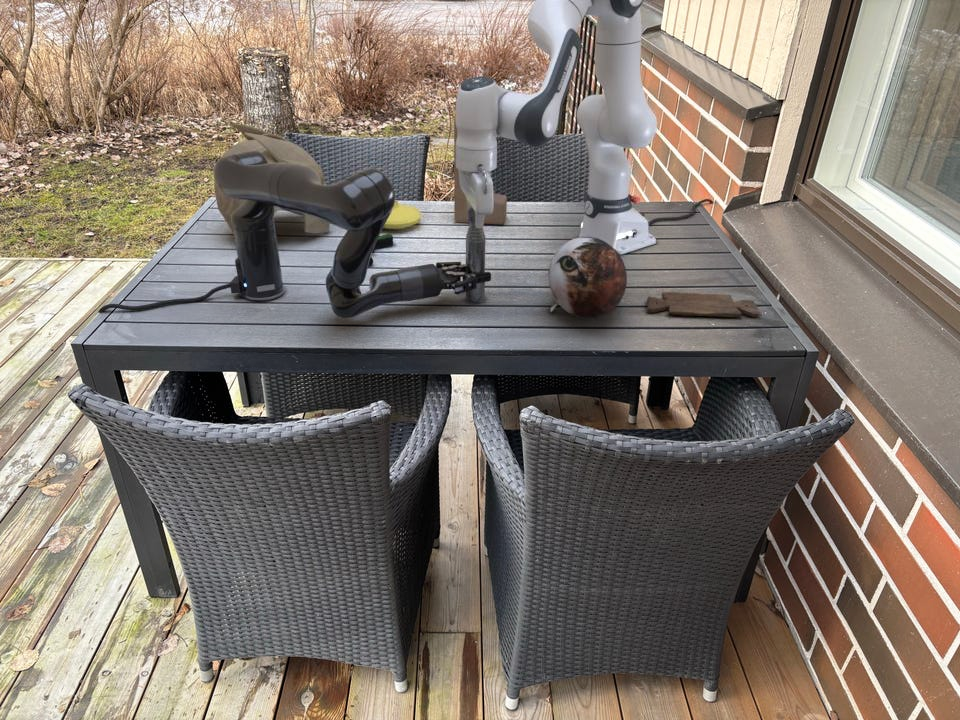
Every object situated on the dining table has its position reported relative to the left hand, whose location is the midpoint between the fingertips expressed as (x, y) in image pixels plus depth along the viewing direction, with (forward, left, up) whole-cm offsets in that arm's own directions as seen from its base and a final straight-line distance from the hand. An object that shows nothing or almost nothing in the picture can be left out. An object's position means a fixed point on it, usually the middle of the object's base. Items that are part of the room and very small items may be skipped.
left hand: (485, 272), depth 167 cm
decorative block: (-3, +54, -7) cm, 54 cm away
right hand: (-3, -1, +13) cm, 13 cm away
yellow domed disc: (-28, +47, -7) cm, 56 cm away
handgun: (-32, +24, -7) cm, 40 cm away
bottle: (-2, -1, -7) cm, 7 cm away
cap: (-2, -1, +15) cm, 15 cm away
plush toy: (+23, -6, -7) cm, 25 cm away
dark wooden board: (+51, -2, -7) cm, 51 cm away
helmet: (-61, +39, -7) cm, 73 cm away
